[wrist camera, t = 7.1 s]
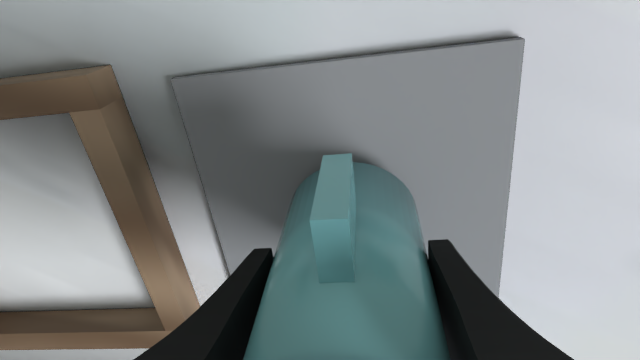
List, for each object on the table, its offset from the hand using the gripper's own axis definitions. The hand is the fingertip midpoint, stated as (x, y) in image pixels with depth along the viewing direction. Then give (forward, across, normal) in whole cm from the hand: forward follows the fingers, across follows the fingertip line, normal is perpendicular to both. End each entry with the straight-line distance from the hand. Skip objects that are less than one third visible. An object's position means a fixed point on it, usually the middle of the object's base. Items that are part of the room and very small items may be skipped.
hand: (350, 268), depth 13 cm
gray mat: (+4, 0, 0) cm, 4 cm away
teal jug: (+3, 0, 0) cm, 3 cm away
